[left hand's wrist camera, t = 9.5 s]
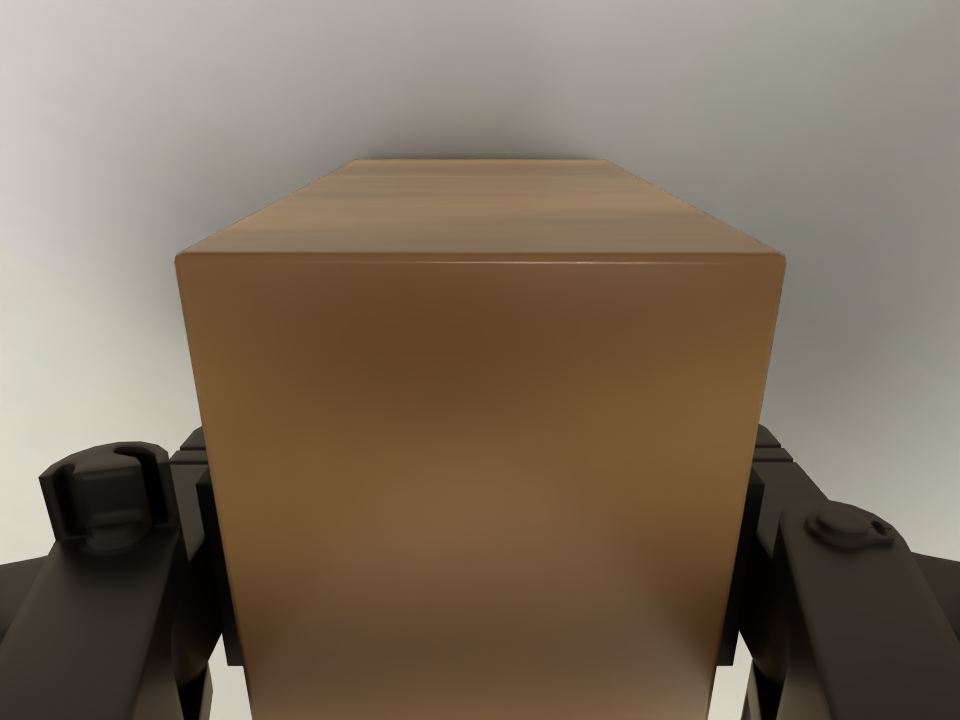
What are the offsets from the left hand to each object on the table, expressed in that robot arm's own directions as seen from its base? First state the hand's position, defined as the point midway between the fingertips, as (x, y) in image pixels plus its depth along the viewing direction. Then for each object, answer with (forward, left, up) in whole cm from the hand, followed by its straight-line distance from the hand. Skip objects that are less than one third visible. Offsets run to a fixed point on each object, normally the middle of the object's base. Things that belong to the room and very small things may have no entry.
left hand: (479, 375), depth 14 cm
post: (+3, +31, -1) cm, 32 cm away
